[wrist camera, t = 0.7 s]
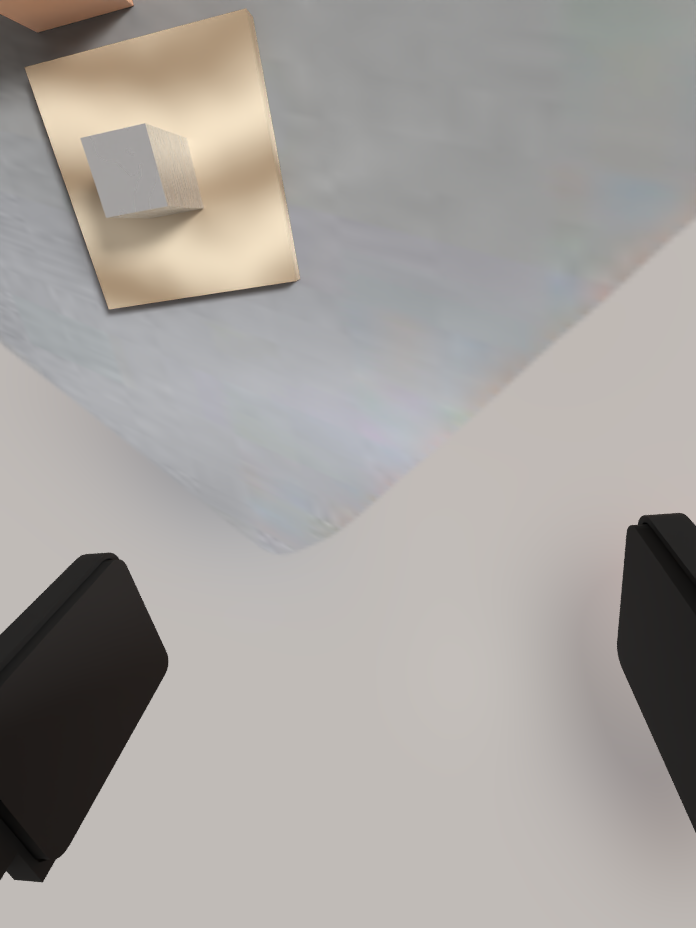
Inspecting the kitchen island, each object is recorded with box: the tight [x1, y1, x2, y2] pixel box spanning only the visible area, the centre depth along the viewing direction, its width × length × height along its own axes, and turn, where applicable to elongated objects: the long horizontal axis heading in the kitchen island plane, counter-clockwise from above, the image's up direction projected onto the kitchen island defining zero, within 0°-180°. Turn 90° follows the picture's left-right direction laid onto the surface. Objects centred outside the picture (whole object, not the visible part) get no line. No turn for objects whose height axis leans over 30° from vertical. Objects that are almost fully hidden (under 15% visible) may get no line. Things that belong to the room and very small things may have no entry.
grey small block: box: [80, 123, 204, 219], centre depth 28 cm, size 4×4×5 cm
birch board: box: [25, 9, 300, 309], centre depth 31 cm, size 14×14×1 cm
